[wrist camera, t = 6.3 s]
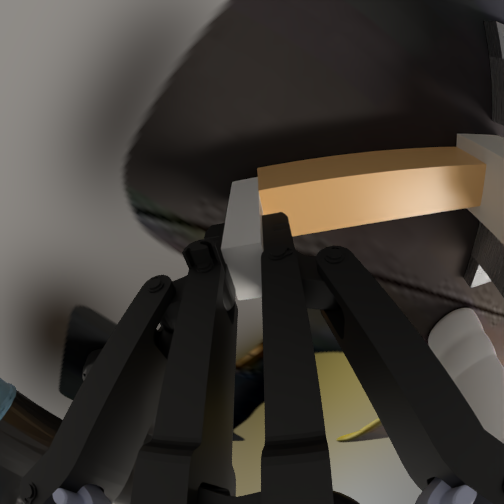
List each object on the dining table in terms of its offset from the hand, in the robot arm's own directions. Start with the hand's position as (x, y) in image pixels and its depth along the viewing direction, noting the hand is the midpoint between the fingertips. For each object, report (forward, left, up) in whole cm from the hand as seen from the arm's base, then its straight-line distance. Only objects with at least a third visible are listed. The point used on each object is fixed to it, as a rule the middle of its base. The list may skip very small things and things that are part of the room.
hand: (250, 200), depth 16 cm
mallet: (+11, 0, -2) cm, 11 cm away
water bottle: (+20, -20, -2) cm, 29 cm away
